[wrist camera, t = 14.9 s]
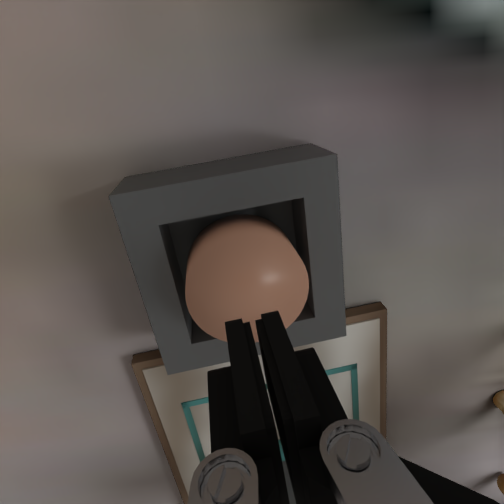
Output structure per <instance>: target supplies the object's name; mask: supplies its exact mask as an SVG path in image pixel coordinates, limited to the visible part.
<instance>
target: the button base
mask: <svg viewBox="0 0 504 504" xmlns="http://www.w3.org/2000/svg"><path fill="white" fill-rule="evenodd" d="M109 199H110V202H111V205H112V208H113V211H114V214H115V217H116V220H117V223H118V226H119V229H120V232H121V235H122V239H123V242H124V245H125V248H126V251H127V254H128V257H129V260H130V263H131V266H132V269H133V272H134V275H135V278H136V281H137V284H138V287H139V290H140V293H141V296H142V299H143V302H144V305H145V308H146V311H147V314H148V317H149V320H150V323H151V326H152V329H153V332H154V335H155V338H156V341H157V344H158V347H159V351H160V354H161V357H162V360H163V363H164V366H165V369H166V372H167V375H171V374H176V373H180V372H185V371H189V370H194V369H198V368H203V367H208V366H212V365H217V364H221V363H226V362H230V358H229V351H228V343H227V342H225V341H222V340H219V339H217V338H214V337H212V336H211V335H209V334H207V333H206V332H205V331H203V330H202V329H201V328H200V327H199V326H198V325H197V324H196V323H195V321H194V320H193V318H192V317H191V315H190V313H189V310H188V308H187V304H186V299H185V286H186V268H187V257H188V254H189V250H190V248H191V246H192V244H193V242H194V240H195V239H196V237H197V236H198V235H199V234H200V232H202V231H203V230H204V229H205V228H206V227H207V226H209V225H210V224H211V223H213V222H215V221H217V220H219V219H222V218H224V217H228V216H231V215H239V214H248V215H255V216H259V217H262V218H264V219H267V220H269V221H271V222H272V223H274V224H275V225H276V226H278V227H279V228H280V229H281V230H282V231H283V232H284V233H285V235H286V236H287V238H288V239H289V241H290V242H291V244H292V245H293V247H294V249H295V250H296V252H297V253H298V255H299V256H300V258H301V259H302V261H303V263H304V265H305V267H306V270H307V273H308V279H309V291H308V296H307V300H306V303H305V305H304V308H303V309H302V311H301V313H300V314H299V316H298V317H297V318H296V320H295V321H294V322H293V323H292V324H291V325H290V326H289V327H288V328H286V331H287V334H288V336H289V339H290V341H291V344H292V346H293V348H294V347H298V346H303V345H308V344H312V343H317V342H321V341H326V340H330V339H335V338H339V337H344V336H347V335H346V316H345V296H344V277H343V257H342V238H341V219H340V199H339V180H338V160H337V154H336V153H333V152H331V151H329V150H326V149H324V148H321V147H319V146H316V145H314V144H312V143H311V144H305V145H300V146H294V147H289V148H283V149H278V150H272V151H267V152H261V153H256V154H250V155H245V156H239V157H234V158H228V159H223V160H217V161H212V162H206V163H200V164H195V165H189V166H184V167H178V168H173V169H167V170H162V171H156V172H151V173H145V174H140V175H134V176H129V177H125V178H124V179H123V180H122V181H121V183H120V184H119V185H118V186H117V187H116V188H115V189H114V190H113V192H112V193H111V194H110V195H109ZM255 345H256V349H257V353H258V355H261V351H260V345H259V342H255Z"/></svg>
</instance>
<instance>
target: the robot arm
mask: <svg viewBox="0 0 504 504" xmlns="http://www.w3.org/2000/svg"><path fill="white" fill-rule="evenodd" d="M255 323H256V329H257V334H258V340H259V345H260V351H261V356H262V362H263V367H264V373H265V378H266V384H267V389H268V393H267V389H266V385H265V381H264V377H263V373H262V369H261V365H260V361H259V357H258V353H257V349H256V345H255V341H254V337H253V333H252V329H251V325H250V321H249V322H245V323H243V321H242V318H241V319H236V320H231V321H227V322H225V329H226V336H227V343H228V351H229V358H230V365H231V366H228V367H223V368H219V369H214V370H210V371H208V372H207V381H208V401H209V421H210V442H211V454H209V455H208V456H206V457H205V458H204V459H203V460H202V461H201V462H200V463H199V465H198V466H197V468H196V470H195V471H194V473H193V477H192V480H191V484H190V491H189V497H188V504H290V503H289V497H288V492H287V486H286V480H285V475H284V469H283V464H282V458H281V452H280V447H279V441H278V436H277V430H276V426H277V429H278V433H279V437H280V441H281V445H282V449H283V453H284V457H285V461H286V465H287V469H288V473H289V477H290V481H291V485H292V489H293V493H294V497H295V501H296V504H500V503H498V502H496V501H494V500H493V499H490V498H488V497H486V496H484V495H482V494H479V493H477V492H475V491H473V490H471V489H468V488H466V487H464V486H462V485H460V484H458V483H455V482H453V481H451V480H449V479H447V478H444V477H442V476H440V475H438V474H436V473H434V472H431V471H429V470H427V469H425V468H423V467H420V466H418V465H416V464H414V463H412V462H409V461H407V460H405V459H403V458H401V457H399V456H397V454H396V453H395V452H394V450H393V449H392V448H391V446H390V445H389V444H388V442H387V441H386V440H385V438H384V437H383V436H382V435H381V434H380V433H379V432H378V430H377V429H376V428H374V427H373V426H371V425H369V424H368V423H366V422H363V421H360V420H356V419H348V417H347V415H346V413H345V411H344V409H343V407H342V405H341V403H340V401H339V399H338V397H337V394H336V392H335V390H334V388H333V386H332V384H331V382H330V380H329V378H328V376H327V374H326V372H325V370H324V367H323V365H322V363H321V361H320V359H319V357H318V355H317V353H316V351H315V349H314V348H313V347H311V348H307V349H302V350H298V351H294V349H293V346H292V344H291V341H290V339H289V336H288V334H287V331H286V329H285V326H284V324H283V321H282V319H281V316H280V314H279V311H278V310H277V311H273V312H268V313H264V314H261V319H258V320H255ZM268 394H269V397H268ZM269 398H270V401H269ZM270 402H271V405H270ZM271 406H272V409H271ZM272 410H273V413H272ZM273 414H274V417H273ZM274 418H275V421H274ZM275 422H276V426H275Z"/></svg>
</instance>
